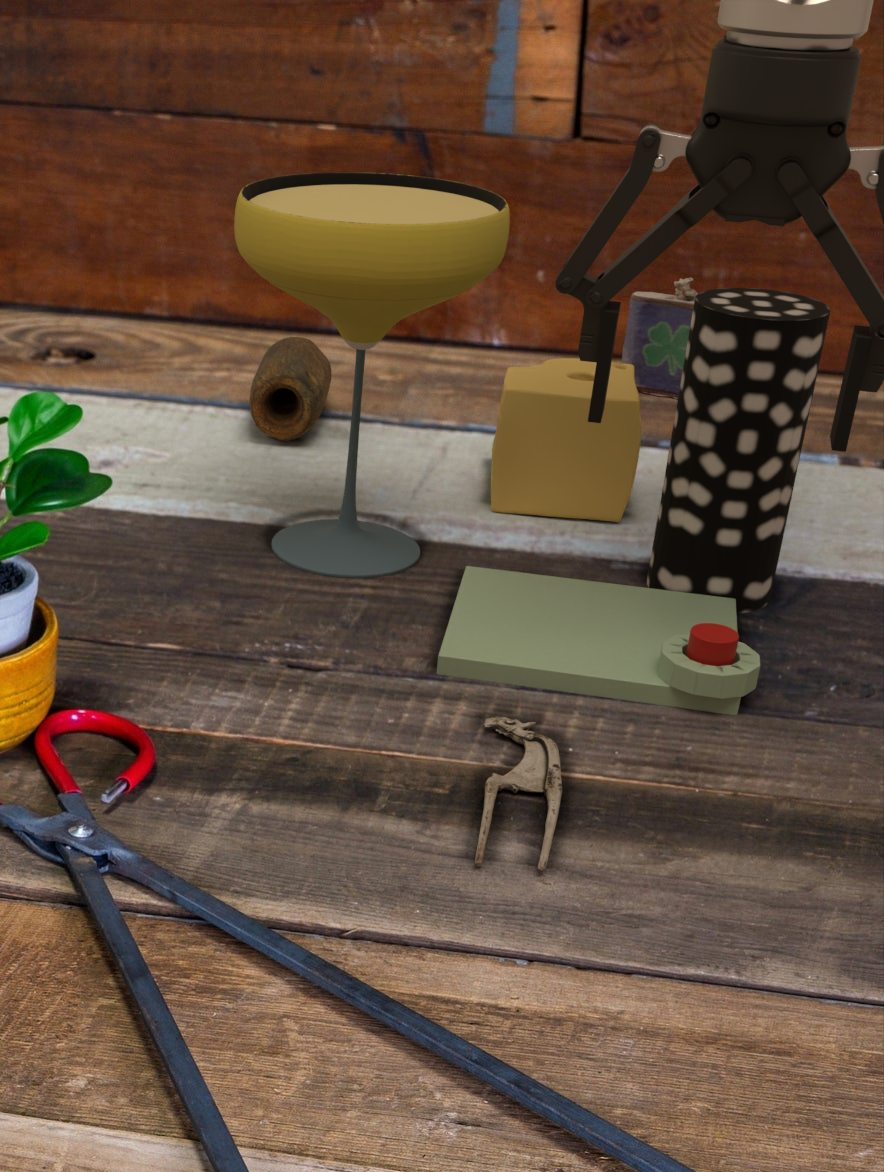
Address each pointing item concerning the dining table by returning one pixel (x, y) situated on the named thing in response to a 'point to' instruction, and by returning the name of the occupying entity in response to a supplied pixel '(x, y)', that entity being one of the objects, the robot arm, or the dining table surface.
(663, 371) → the flask
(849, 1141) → the dining table surface
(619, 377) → the cheese
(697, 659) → the button
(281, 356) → the brown hollow cylinder
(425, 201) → the cocktail glass
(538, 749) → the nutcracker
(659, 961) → the dining table surface
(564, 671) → the scale
